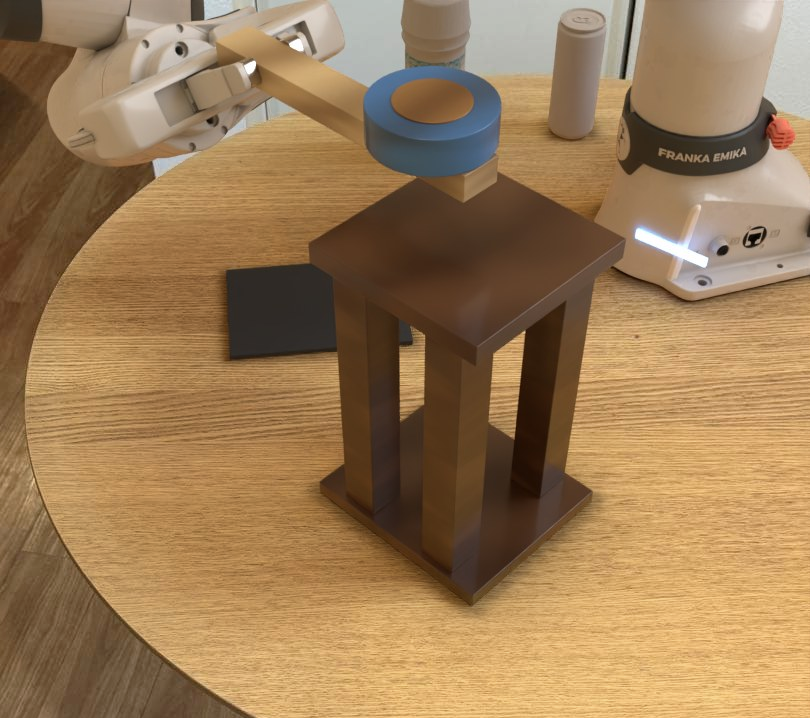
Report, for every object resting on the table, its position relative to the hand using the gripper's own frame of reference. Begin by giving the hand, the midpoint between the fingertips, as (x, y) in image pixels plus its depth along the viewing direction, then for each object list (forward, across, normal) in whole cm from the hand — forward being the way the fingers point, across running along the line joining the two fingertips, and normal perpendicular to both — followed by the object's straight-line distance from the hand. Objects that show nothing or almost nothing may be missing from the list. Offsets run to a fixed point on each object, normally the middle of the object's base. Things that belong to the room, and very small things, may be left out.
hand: (276, 60), depth 75 cm
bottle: (-30, +34, +17) cm, 48 cm away
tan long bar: (+5, 0, +5) cm, 7 cm away
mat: (-21, +8, +22) cm, 31 cm away
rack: (0, 0, +34) cm, 34 cm away
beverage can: (-23, +47, +21) cm, 56 cm away
